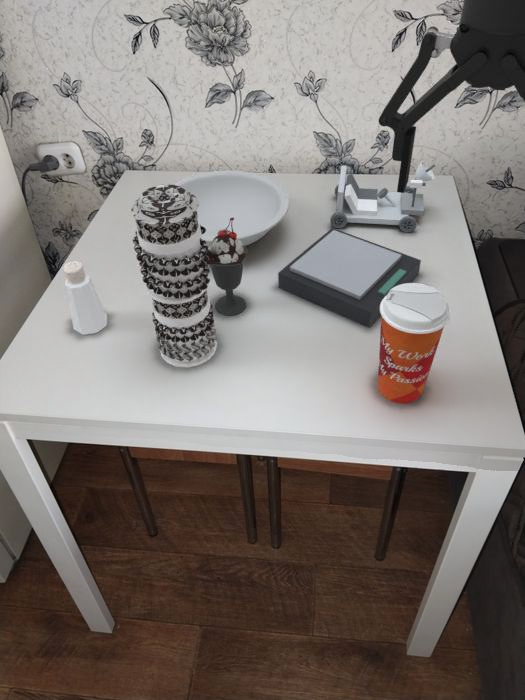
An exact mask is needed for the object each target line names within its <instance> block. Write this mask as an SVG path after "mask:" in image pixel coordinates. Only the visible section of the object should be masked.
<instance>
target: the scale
mask: <svg viewBox="0 0 525 700" xmlns="http://www.w3.org/2000/svg"><path fill="white" fill-rule="evenodd" d="M421 262H422V259H419V258H416V257H413V256H411V255H408V254H406V253H403V252H400V251H398V250H394V249H391V248H388V247H386V246H384V245H381V244H378V243H375V242H373V241H370V240H367V239H364V238H362V237H359V236H356V235H353V234H351V233H347V232H345V231H342V230H339V229H338V228H335V227H331V228H330V229H329V230H327V232H325V233H324V234H323V235H322V236H321V237H319V238H318V239H317V240H316V241H315V242H313V243H312V244H311V245H309V247H307V248H306V249H305V250H304V251H303V252H301V253H300V254H299V255H298V256H297V257H295V258H294V259H293V260H292V261H290V262H289V263H288V264H287V265H286V266H285V267H283V268H282V269H281V270H280V271H278V273H277V277H278V282H277V283H278V284H277V285H278V289H281V290H283V291H286V292H287V293H290V294H291V295H294V296H296V297H299V298H301V299H304V300H305V301H308V302H310V303H313V304H315V305H317V306H320V307H321V308H323V309H326V310H328V311H330V312H333V313H335V314H337V315H340V316H342V317H343V318H347V319H349V320H351V321H353V322H355V323H358V324H360V325H363V326H364V327H367V328H371V326H372V325H374V323H375V322H376V321H377V320H378V319H379V318H380V317H382V315H381V313H380V304H381V301H382V300H383V299H384V297H385V296H386V295H387V294H388V293H389V291H390V290H391V289H392V288H394V287H395V286H398V285H401V284H405V283H413V281H414V280H415V279H416V278H417V277H418V276H419V273H420V269H421V268H420V267H421Z"/></svg>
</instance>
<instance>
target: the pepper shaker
mask: <svg viewBox="0 0 525 700" xmlns="http://www.w3.org/2000/svg"><path fill="white" fill-rule="evenodd" d="M62 271H63V272H64V275H65V282H64V288H65V289H64V290H65V295H66V298H67V299H66V300H67V303H68V309H69V313H70V318H71V324H72V328H73V330H74V331H75V332H77V333H79V334H81V335H82V336H86V335H92V334H93V335H94V334H95V335H96V334H97V333H99V332H100V331H101V330H103V329H104V328H106V327H107V325H108V315H107V314H106V313H107V312H106V310H105V308H104V307H103V303H102V301H101V299H100V297H99V294H98V293H97V290H96V287H95V285H94V283H93V280H92V279H91V277H90V275H88V274H86V272H85V269H84V264H83V263H82V262H80V261H78V260H73V261H69V262H67V263H65V264H64V265H63V267H62Z"/></svg>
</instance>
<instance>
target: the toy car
mask: <svg viewBox="0 0 525 700" xmlns="http://www.w3.org/2000/svg"><path fill="white" fill-rule="evenodd" d="M435 167H436V164H432V165H431V166H429V165H428V163H426V162H425V161H423V160H421V161H420V162H419V164H418V166H417V168H416V171H415V174H414V179H410V183H409V185H406V188H405V191H404V193H400V192H397V191H389V189H387V188H386V187H383V188H382V189H381V190H379V189H378V188H362V187H361V188H360V186H359V184H358V183H357V181H356V179H355V176H354V175H353V173H350V174H347V168H348V165H341V166H340V173H339V180H338V184H337V185H336V186H335V188H334V195H335V196H336V198H337V199H336V212H334V213H333V214H332V215H331V216H330V225H331V226H332V228H334V229H337V230H339V229H344V228H345V227H346V225H347V224H348V223H352V224H353V223H356V224H373V225H388V226H389V225H392V226H399V227H398V228H399V229H400V230H401V232H403V233H411V232H414V231H415V230H416V228H417V219H416V218H415V217H414V216H424V214H425V204H424V203H425V202H424V193H417V189H422V188H423V187H426V185H427V183H426V182H430V181H434V180H435V179H436V176H435V174H434V172H433V170H432V169H433V168H435Z"/></svg>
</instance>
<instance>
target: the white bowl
mask: <svg viewBox="0 0 525 700" xmlns="http://www.w3.org/2000/svg"><path fill="white" fill-rule="evenodd" d="M171 185H176V186H180V187H182V188H183V189H185V190H186V191H187V192H190V193H191V194H193V195H194V196H195V197H197V199H198V202H199V206H198V208H197V216H198V221H199V224H200V225H201V226H203V227H205V229H206V232H205V233H204V234H201V237H200V238H201V239H203V240H205V241H206V245H207V246H210V244H211V243H212V241H213V239H214V238H215V237H216V236H218V235H219V233H220V231H221V230H225V229H226V228H227V227H228V225H229V222H230V225H229V227H228V228H227V230H226V232H229V233H230V232H232V228H233V232H235V233H236V234H237V237H236V238H237V239H239V240H240V241H241V243H242V244H243V245H244V246H245V247H247V246H248V245H251V244H254V243H255V242H256V241H257V242H258V240H260V239H261V238H263V237H264V236H265V235H267V233H268V232H270V230H271V229H273V228H274V227H276V226H277V225H279V223H280V222H281V221H283V219H284V218H285V217H286V216H287V213H288V211H289V208H290V197H289V194H288V192H287V190H286V189H285V188H284V186H282V185H281V184H280V183H279V182H277V181H276V180H274V179H272V178H270V177H267V176H265V175H263V174H259V173H255V172H250V171H245V170H230V169H229V170H228V169H226V170H213V171H206V172H202V173H197V174H193V175H190V176H187V177H184V178H182V179H180V180H178V181H175V182H174V183H172V184H171ZM233 217H234V220H233V221H230V218H233ZM231 222H232V228H231ZM200 247H201V248H202V246H201V245H200Z"/></svg>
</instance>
